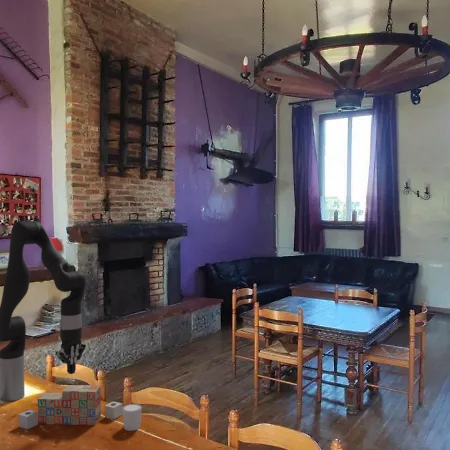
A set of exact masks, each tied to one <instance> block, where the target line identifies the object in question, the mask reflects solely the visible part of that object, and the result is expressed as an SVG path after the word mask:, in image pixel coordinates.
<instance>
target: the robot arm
mask: <svg viewBox="0 0 450 450" xmlns="http://www.w3.org/2000/svg"><path fill="white" fill-rule="evenodd" d="M9 243H10V244H9V251H8V252H9V254H8V261H7V266H6V272H5V276H4V277H5V278H4V283H3V288H2V297H1V301H0V342H1V343H3V342H8V341H9V342H8V344H7V345H5V346H4V347H3V348H1V349H0V401H2V402H12V401H14V402H15V401H18V400H21V399H23V398H24V397H25V348H26V335H27V334H26V332H27V330H26V322H25V320H24V318H23V317H22V316H21V315H16V316H13V314H14V311H15V310H16V308H17V307H18V306H19V304H20V303H21V302H22V300H23V299H24V298H25V296H26V295H27V293H28V292H29V288H30V287H29V286H30V282H31V271H30V270H29V267H28V265H27V264H26V261H25V259H24V254H23V253H24V247H25V246H26V245H37V246H39V247H38V248H41V255H40V259H41V262H42V264H43V266H44V267H45V269H46V270H47V271H48V272H49V273H50V274H51V277H52V280H53V282H54V285H55V288H56V289H57V290H59V291H60V292H62V293H67V292H68V293H69V292H70V293H69V295H68V296H66V297H64V298H62V299H61V301H60V320H59V324H60V325H59V338H60V340H61V344H60V348H59V351H58V350H57V351H55V356H57V358H58V359H59V361H60V362H61V363H62V364H66V372H67V373H68V374H69V375H73V374H75V373H76V369H77V368H76V365H77V361H79V360H80V359H81V358H82V355H84V354H83V353H84V351H85V349H86V348H87V347H86V346H87V345H86V344H84V343H82V337H83V327H82V325H83V322H82V321H83V320H82V319H83V318H82V299H83V297H84V292H85V288H86V283H87V281H86V280H87V279H86V276H85V274H84V273H83V272H82V271H81V270H74V271H69V270H70V264H69V262H68V261H67V260H66V259H65V258H64V257H63V256H62V254H61V253H60V252H59V251H58V250H57V248H56V246H55V245H54V243H53V241H52V240H51V238H50V236H49V234H48V233H47V231H46V230H45V228H44V226H43V225H42V223H40V222H39V221H36V220H21V221H20V220H18V221H15V222H14V224H12V227H11V230H10V241H9Z"/></svg>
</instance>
